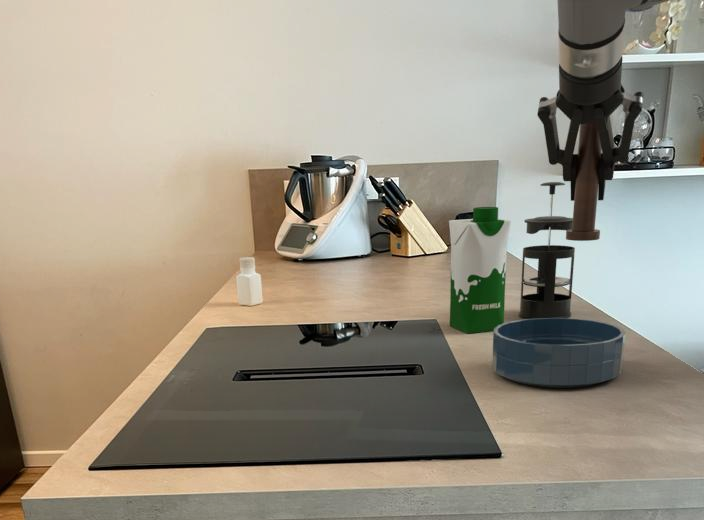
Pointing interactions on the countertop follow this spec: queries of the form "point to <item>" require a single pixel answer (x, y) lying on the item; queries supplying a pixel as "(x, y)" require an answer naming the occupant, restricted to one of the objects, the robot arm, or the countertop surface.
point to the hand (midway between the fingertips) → (587, 193)
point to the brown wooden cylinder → (586, 185)
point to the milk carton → (478, 271)
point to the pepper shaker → (249, 283)
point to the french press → (547, 268)
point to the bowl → (558, 351)
